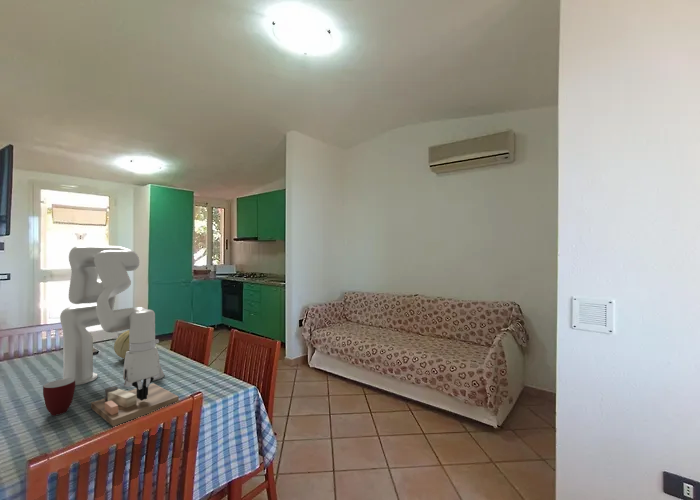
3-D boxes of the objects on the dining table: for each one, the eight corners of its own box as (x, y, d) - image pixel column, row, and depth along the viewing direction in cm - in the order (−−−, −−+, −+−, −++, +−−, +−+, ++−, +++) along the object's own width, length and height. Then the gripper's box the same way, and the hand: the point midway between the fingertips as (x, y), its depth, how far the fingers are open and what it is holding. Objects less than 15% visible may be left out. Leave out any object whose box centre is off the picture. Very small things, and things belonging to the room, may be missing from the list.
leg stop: (104, 409, 106) (104, 402, 106) (111, 407, 108) (111, 400, 108) (111, 415, 103) (111, 407, 103) (118, 412, 104) (118, 405, 104)
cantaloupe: (109, 359, 162) (109, 330, 162) (141, 352, 174) (141, 324, 174) (121, 365, 153) (121, 334, 154) (154, 357, 165) (154, 328, 166)
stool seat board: (91, 408, 111) (91, 402, 111) (153, 388, 127) (153, 383, 127) (112, 426, 100) (113, 420, 100) (178, 401, 116) (178, 396, 116)
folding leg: (102, 399, 113) (102, 389, 113) (114, 395, 116) (114, 385, 116) (125, 408, 107) (125, 397, 107) (137, 403, 110) (137, 393, 110)
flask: (155, 382, 134) (154, 358, 134) (140, 380, 135) (140, 357, 135) (168, 375, 141) (168, 352, 141) (154, 374, 142) (154, 351, 142)
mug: (38, 412, 109) (38, 382, 109) (69, 402, 115) (69, 375, 116) (46, 421, 103) (46, 390, 103) (78, 411, 109) (78, 381, 109)
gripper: (160, 339, 120) (160, 388, 120) (112, 349, 108) (112, 404, 108) (169, 342, 116) (169, 393, 116) (121, 353, 104) (121, 410, 103)
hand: (142, 398), depth 112 cm, fingers closed
